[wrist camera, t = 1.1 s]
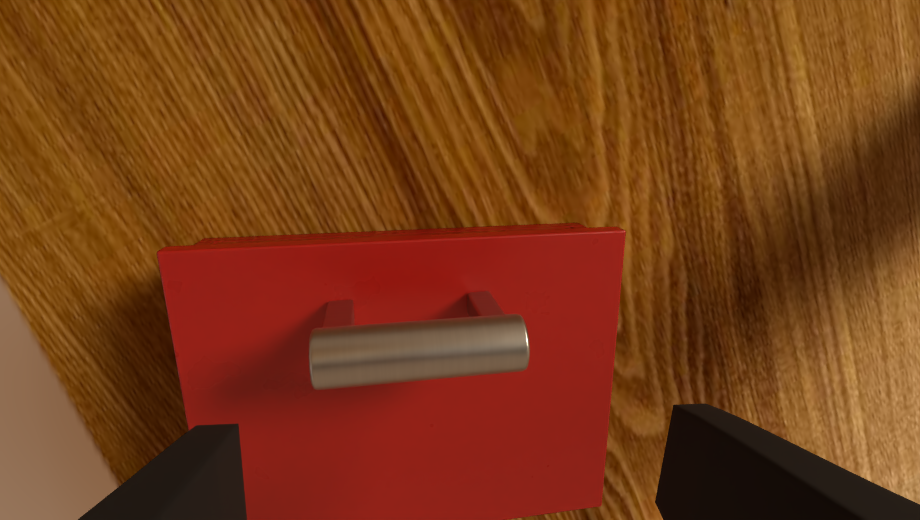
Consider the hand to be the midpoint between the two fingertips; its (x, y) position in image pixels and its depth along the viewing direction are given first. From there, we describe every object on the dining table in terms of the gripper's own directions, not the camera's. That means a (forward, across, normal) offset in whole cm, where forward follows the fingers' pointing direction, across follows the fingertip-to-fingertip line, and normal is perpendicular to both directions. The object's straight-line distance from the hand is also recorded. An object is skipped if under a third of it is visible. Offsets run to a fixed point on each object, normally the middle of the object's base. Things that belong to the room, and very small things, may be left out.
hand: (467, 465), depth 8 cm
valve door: (+7, 0, +3) cm, 8 cm away
